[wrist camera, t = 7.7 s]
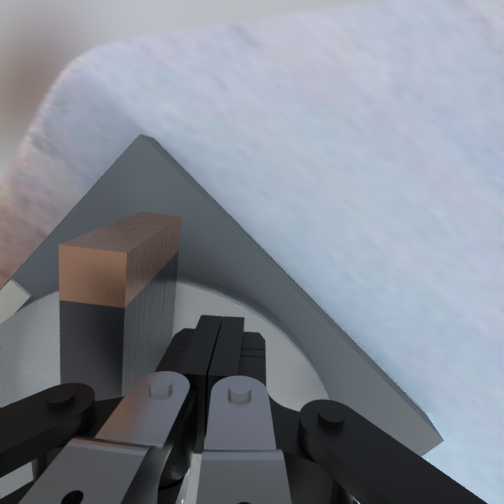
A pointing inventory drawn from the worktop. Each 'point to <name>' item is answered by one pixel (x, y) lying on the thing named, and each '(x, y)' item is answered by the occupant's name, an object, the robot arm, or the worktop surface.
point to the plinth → (225, 280)
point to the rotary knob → (132, 325)
